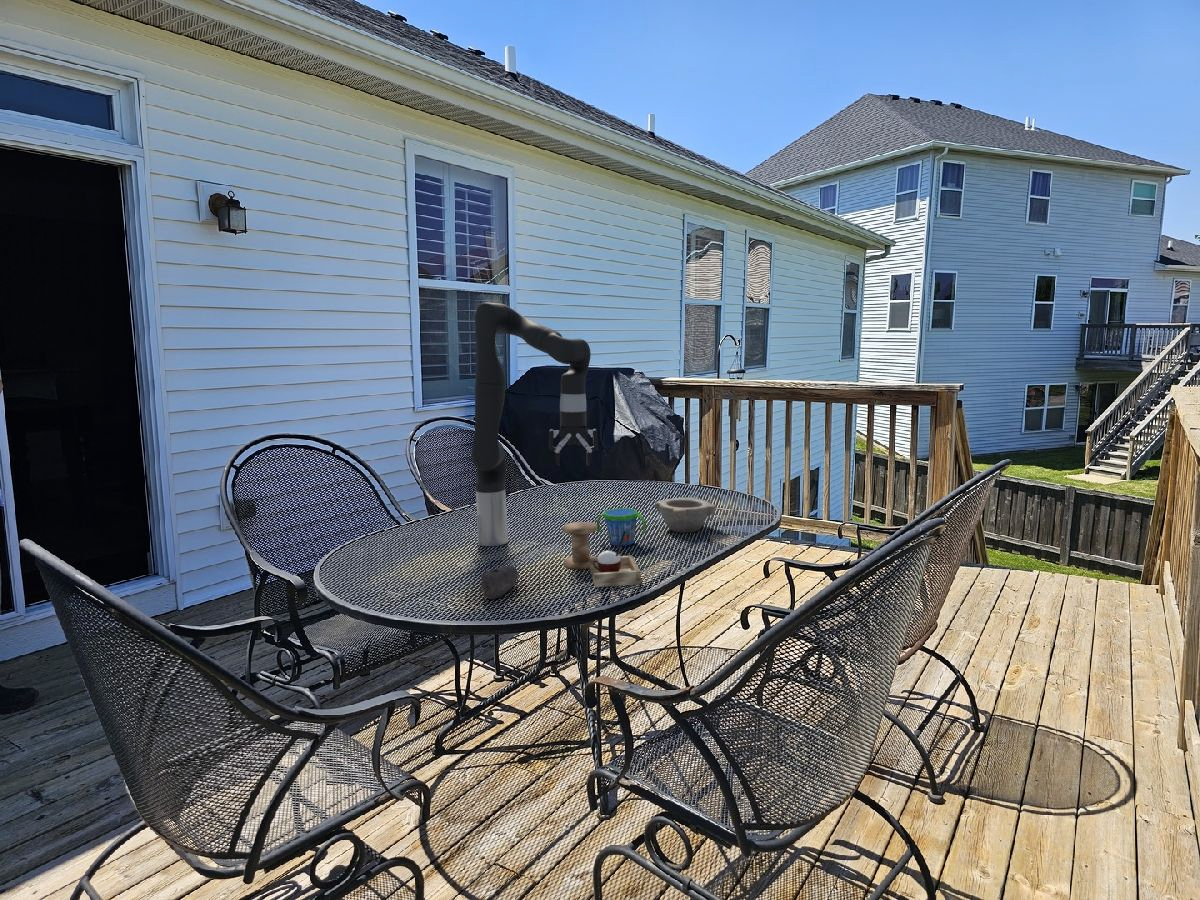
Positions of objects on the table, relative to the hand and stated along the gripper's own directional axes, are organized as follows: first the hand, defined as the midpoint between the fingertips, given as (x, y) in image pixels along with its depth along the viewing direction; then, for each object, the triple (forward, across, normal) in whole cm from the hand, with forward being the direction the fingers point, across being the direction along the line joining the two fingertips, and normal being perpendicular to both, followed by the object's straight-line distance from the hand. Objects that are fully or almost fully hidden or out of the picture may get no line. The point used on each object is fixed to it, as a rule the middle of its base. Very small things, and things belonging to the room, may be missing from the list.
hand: (573, 465), depth 212 cm
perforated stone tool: (+28, -20, -28) cm, 44 cm away
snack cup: (+27, +15, +11) cm, 33 cm away
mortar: (+26, +38, +24) cm, 52 cm away
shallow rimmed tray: (+27, +10, -20) cm, 35 cm away
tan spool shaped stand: (+27, +2, -7) cm, 28 cm away
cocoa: (+26, +9, -20) cm, 34 cm away
